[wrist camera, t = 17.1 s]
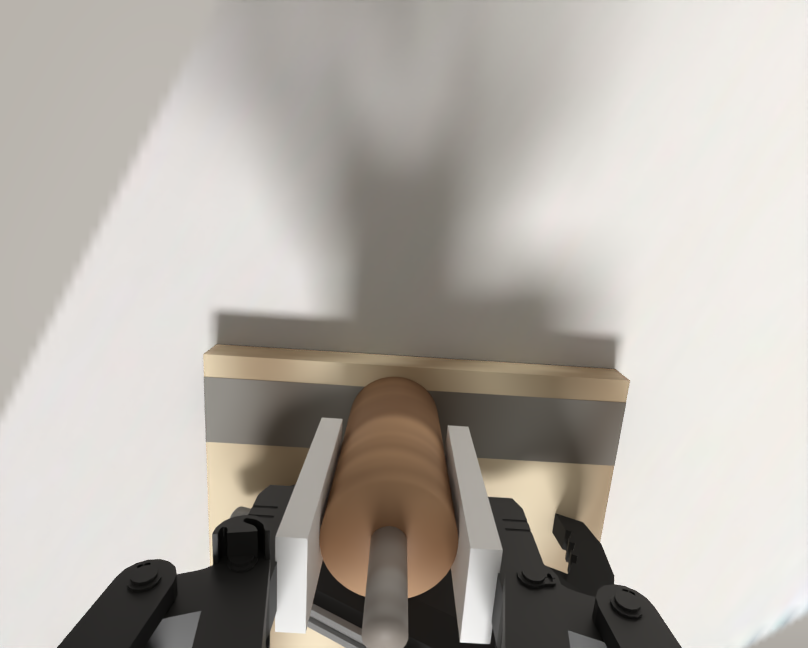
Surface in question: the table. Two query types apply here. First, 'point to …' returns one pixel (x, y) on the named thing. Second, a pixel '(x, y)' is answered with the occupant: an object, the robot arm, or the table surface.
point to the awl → (390, 507)
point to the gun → (449, 595)
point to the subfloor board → (457, 406)
